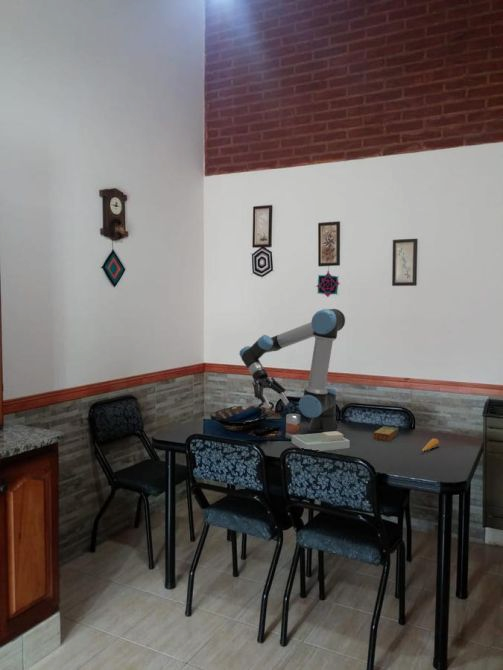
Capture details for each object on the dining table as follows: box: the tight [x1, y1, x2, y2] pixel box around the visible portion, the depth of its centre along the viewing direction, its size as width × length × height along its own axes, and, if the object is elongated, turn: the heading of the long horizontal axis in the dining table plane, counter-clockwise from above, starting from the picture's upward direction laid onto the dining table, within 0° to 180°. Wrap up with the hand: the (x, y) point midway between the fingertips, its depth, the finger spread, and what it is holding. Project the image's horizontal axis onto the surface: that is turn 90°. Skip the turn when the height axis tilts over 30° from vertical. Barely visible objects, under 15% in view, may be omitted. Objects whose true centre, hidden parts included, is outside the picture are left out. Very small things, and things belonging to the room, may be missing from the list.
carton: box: [373, 425, 400, 442], centre depth 279 cm, size 8×16×4 cm, turn 149°
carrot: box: [421, 438, 440, 451], centre depth 257 cm, size 20×4×4 cm, turn 139°
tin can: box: [285, 413, 302, 440], centre depth 272 cm, size 7×7×12 cm
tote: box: [291, 433, 351, 452], centre depth 258 cm, size 22×16×4 cm
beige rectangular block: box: [322, 430, 344, 443], centre depth 258 cm, size 8×6×6 cm
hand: (278, 405), depth 279 cm, fingers open, 13 cm apart
